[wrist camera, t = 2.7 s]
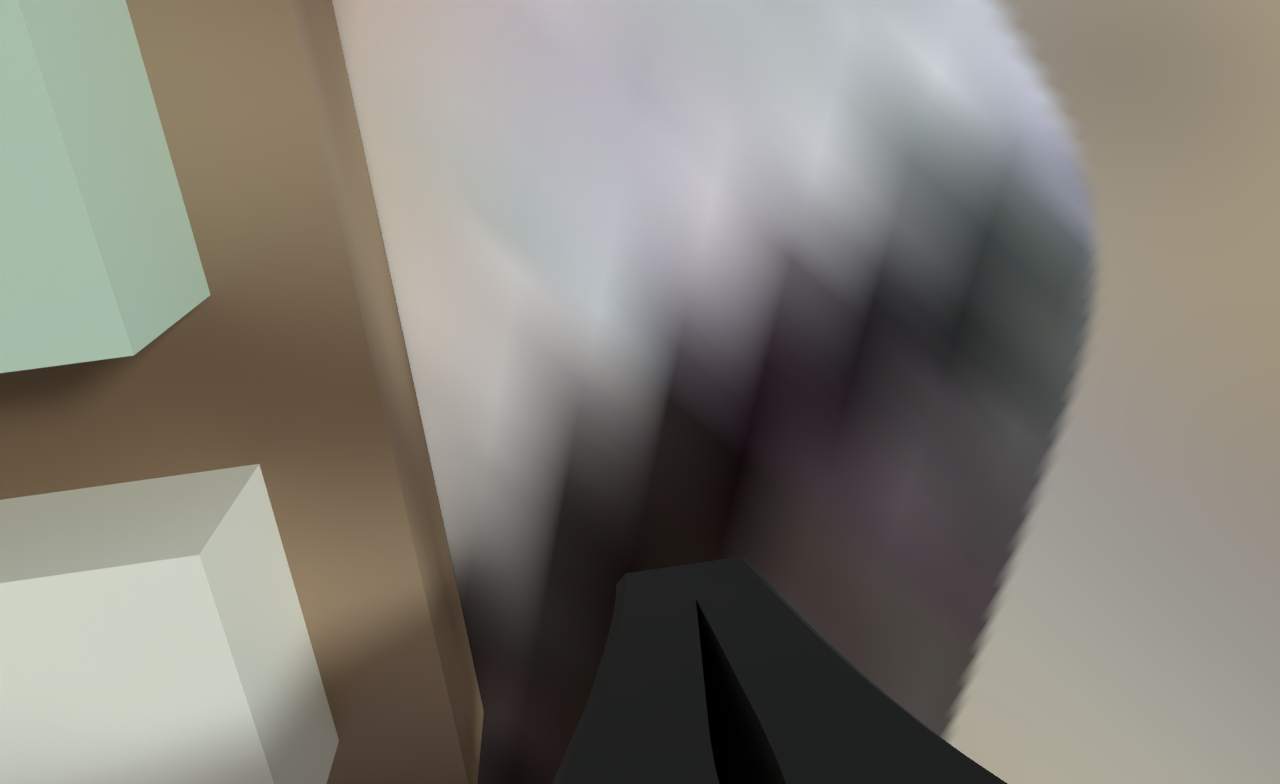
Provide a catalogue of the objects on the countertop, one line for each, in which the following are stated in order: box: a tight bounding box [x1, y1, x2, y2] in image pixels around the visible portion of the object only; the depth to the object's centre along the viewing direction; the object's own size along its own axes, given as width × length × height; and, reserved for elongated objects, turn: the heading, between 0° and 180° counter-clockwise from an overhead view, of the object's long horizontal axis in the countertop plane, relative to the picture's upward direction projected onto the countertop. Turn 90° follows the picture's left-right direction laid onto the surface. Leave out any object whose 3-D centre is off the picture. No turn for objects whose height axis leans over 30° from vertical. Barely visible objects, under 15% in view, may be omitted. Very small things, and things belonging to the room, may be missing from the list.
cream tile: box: [0, 464, 339, 784], centre depth 10 cm, size 4×4×2 cm
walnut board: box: [0, 0, 484, 784], centre depth 11 cm, size 12×9×2 cm
